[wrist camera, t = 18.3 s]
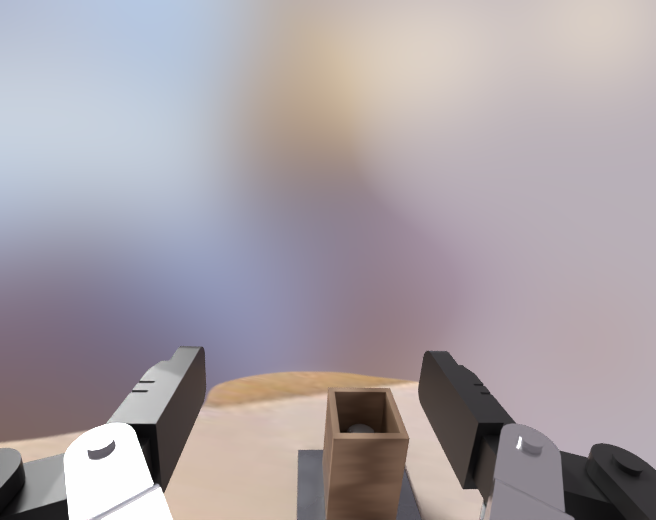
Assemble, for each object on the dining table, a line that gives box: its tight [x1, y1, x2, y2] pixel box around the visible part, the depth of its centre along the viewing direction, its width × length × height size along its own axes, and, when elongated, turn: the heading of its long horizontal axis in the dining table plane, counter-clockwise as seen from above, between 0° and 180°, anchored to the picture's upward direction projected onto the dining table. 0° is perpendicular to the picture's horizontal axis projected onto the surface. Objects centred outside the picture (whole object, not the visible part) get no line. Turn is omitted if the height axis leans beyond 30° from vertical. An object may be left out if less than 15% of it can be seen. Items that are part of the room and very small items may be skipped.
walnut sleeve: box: [322, 388, 409, 520], centre depth 32 cm, size 7×7×10 cm
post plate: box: [297, 424, 421, 520], centre depth 32 cm, size 12×10×8 cm
